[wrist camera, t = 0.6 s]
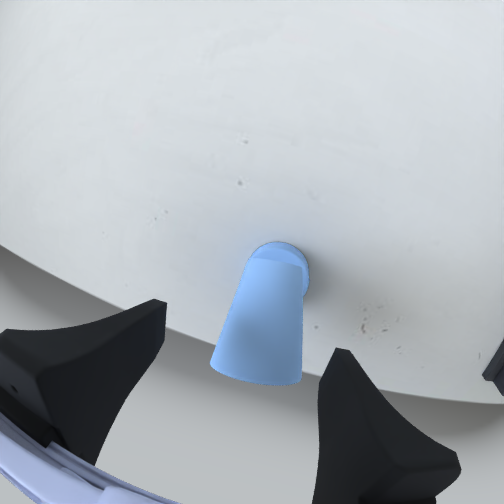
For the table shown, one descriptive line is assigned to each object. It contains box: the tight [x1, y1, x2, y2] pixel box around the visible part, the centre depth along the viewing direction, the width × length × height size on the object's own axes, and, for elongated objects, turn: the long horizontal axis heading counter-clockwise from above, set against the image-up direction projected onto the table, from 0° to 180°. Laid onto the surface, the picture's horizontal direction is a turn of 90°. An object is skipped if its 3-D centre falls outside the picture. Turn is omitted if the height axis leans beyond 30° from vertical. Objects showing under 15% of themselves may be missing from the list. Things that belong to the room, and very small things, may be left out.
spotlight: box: [210, 242, 310, 385], centre depth 17 cm, size 5×10×7 cm
